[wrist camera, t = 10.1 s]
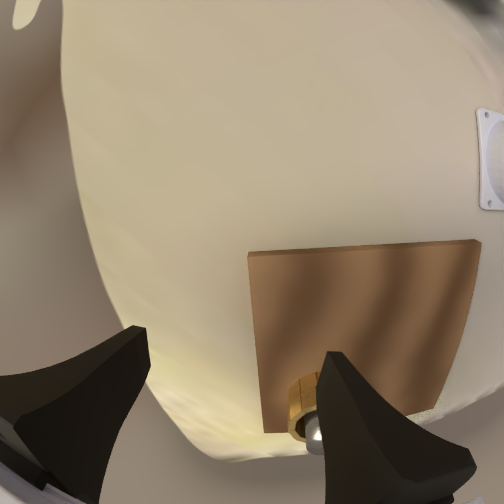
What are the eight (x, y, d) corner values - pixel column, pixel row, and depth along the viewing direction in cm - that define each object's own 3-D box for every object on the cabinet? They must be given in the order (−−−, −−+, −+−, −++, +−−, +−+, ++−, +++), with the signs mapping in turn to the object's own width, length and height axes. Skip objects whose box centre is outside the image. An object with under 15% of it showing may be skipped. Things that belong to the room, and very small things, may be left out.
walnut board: (474, 239, 17) (481, 242, 16) (430, 402, 23) (433, 408, 22) (248, 252, 19) (247, 256, 18) (264, 425, 24) (264, 433, 23)
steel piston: (339, 380, 21) (351, 431, 16) (335, 403, 22) (344, 452, 16) (302, 383, 21) (307, 436, 16) (301, 406, 22) (305, 456, 17)
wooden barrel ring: (357, 370, 20) (367, 400, 17) (343, 412, 22) (349, 441, 19) (290, 371, 21) (292, 403, 17) (284, 414, 22) (285, 444, 19)
